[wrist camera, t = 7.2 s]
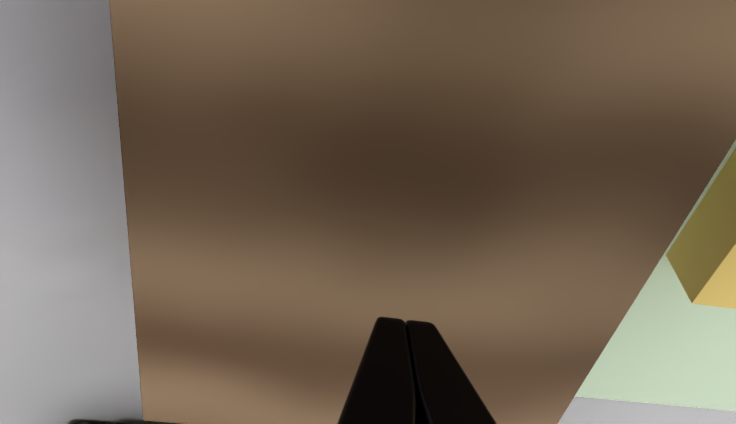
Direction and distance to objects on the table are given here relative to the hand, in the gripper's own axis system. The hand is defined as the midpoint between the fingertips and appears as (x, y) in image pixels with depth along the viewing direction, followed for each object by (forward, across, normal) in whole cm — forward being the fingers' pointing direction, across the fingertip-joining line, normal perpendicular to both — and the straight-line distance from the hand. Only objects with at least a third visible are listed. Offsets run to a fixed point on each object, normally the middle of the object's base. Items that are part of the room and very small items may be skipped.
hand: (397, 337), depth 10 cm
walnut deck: (+9, -1, 0) cm, 9 cm away
